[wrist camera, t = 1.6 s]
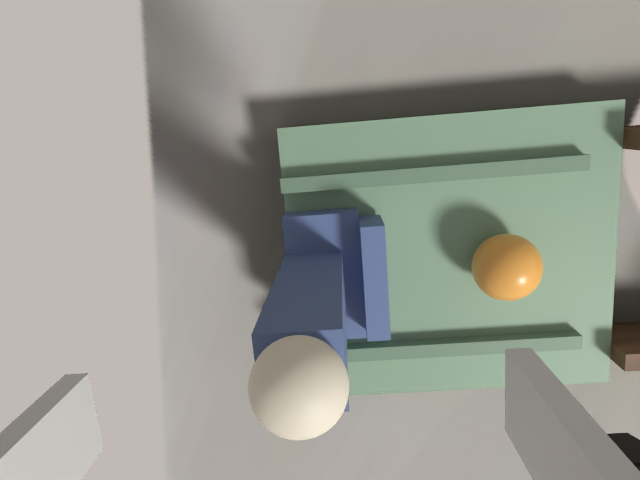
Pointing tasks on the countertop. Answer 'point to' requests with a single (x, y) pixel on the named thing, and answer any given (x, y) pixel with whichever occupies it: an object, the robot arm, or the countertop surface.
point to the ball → (507, 267)
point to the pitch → (475, 235)
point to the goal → (627, 338)
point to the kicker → (318, 319)
